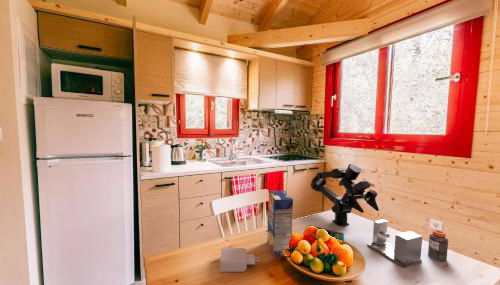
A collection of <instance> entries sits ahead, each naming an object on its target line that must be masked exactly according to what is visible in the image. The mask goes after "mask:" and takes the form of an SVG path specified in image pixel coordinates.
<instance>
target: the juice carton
mask: <svg viewBox="0 0 500 285" xmlns="http://www.w3.org/2000/svg"><path fill="white" fill-rule="evenodd" d="M267 204H268V205H267V206H268V210H267V214H268V215H267V238H266V239H267V240H266V241H267V244H268V247H269V250H270V252H271V255H272V257H273V258H283V257H284V254H283V250H284V249H290V248H289V242H290V240H291V238H292V237H293V235H292V234H293V215H294V210H293V209H294V199H293V197H291V195H290V194H289V193H288V192H287V191H286V190H268V203H267ZM292 239H293V238H292Z"/></svg>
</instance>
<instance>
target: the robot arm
mask: <svg viewBox="0 0 500 285" xmlns="http://www.w3.org/2000/svg"><path fill="white" fill-rule="evenodd" d="M361 172H362V169H361V167H359V166H358V165H355V164H354V163H349V164H348V166H347V168H346V167H342V168H341V167H340V168H339V167H337V168H333V169H332V170H330V171H324V172H323V171H321V172H320V171H319V172H317V173H316V175H315V176H314V177H313V178H312V180H311V182H310V187H311V189H312V190H313V191H315V192H319V193H321V194H322V195H323V196H324V197H325V198H327V199H328V200H329V201H330V202H332V203H333V206H331V211H332V213H334V219H332V222H333V223H334V224H335V225H337V226H338V227H339V226H340V227H341V226H342V227H343V226H349V225H350V223H348V214H351V212H352V209H354V210H356V211H358V212H360V213H361V214H363V213H364V212H365V211H364V209H363V208H362V206H361V204H360V203H359V202H358V200H364V201H365V202H366V204H367V205H368V206H370V207H371V208H372V209H374V211H376V212H379V210H380V209H379V206H378V204H377V200H376V198H377V197H378V192H376V191H375V190H368V191H366V190H367V189H370V188H371V187H372V183H371V182H370V181H369V180H363V181H361V180H360V181H359V182H357V183H356V182H355V181H356V180H357V179H358V177H359V175H360V174H361ZM328 178H329V179H330V178H332V179H336V180H338V179H339V181H338V182H339V183H338V186H339V187H344V189H345V190H346V191H345V193H344V194H343V196H339V195H338V194H336V193H335V192H334V191H332V190H331V189H330V188H328V187H327V180H326V179H328ZM320 179H322V180H320ZM365 192H366V193H365ZM364 193H365V194H364Z"/></svg>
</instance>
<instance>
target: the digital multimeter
mask: <svg viewBox="0 0 500 285" xmlns="http://www.w3.org/2000/svg"><path fill="white" fill-rule="evenodd" d="M316 227H317V228H318V229H321V228H322V229H325V230H326V231H327V232H328V234H329V235H330V236H332V237H335V238H336V239H339V240H342V241H343V242H344V240H345V239H344V238H345V234H344V233H343V232H339V231H335V230H331V229H326V228H323V227H319V226H316Z"/></svg>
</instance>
